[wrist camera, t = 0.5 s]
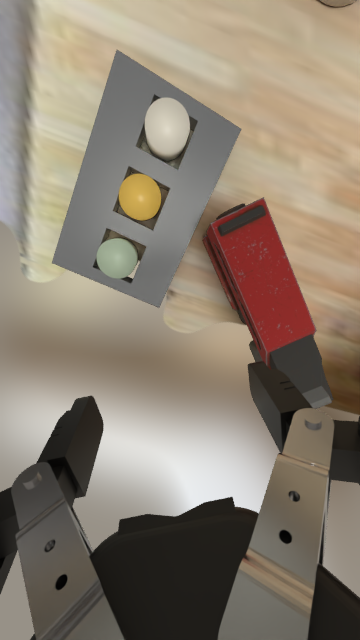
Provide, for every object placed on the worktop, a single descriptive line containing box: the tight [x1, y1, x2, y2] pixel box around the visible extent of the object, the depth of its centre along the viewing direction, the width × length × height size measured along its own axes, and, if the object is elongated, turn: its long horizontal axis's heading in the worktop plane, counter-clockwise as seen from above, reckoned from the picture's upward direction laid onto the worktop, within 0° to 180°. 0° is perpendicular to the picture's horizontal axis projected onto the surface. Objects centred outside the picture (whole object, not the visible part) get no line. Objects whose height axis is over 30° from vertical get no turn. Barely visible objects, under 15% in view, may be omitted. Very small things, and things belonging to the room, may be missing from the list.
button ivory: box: [145, 97, 190, 161], centre depth 26 cm, size 4×4×4 cm
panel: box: [52, 50, 241, 307], centre depth 30 cm, size 22×14×3 cm, turn 155°
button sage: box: [97, 238, 138, 279], centre depth 30 cm, size 4×4×4 cm
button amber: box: [119, 174, 161, 221], centre depth 28 cm, size 4×4×4 cm
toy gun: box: [202, 197, 333, 409], centre depth 32 cm, size 5×24×15 cm, turn 25°
